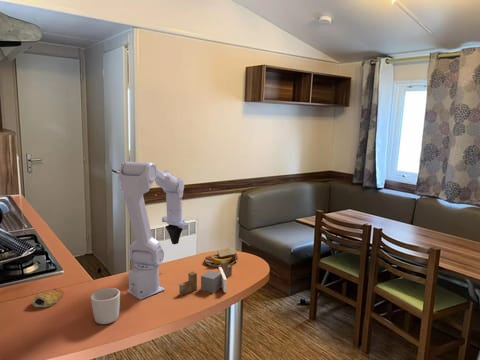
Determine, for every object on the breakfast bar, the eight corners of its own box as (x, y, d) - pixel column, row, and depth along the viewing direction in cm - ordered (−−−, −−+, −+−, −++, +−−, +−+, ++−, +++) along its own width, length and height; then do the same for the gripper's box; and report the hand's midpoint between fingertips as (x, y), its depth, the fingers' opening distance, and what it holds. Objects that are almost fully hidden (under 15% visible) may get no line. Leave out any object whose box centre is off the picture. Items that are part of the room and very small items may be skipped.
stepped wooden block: (182, 295, 121) (182, 278, 120) (178, 293, 123) (178, 276, 122) (232, 275, 137) (232, 260, 136) (228, 273, 138) (228, 258, 137)
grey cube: (213, 293, 124) (213, 279, 123) (201, 289, 126) (200, 275, 125) (221, 287, 128) (221, 273, 127) (209, 283, 130) (209, 270, 129)
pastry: (51, 293, 123) (50, 282, 123) (69, 295, 122) (68, 284, 121) (30, 307, 114) (28, 295, 114) (48, 310, 113) (47, 298, 112)
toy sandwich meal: (204, 256, 155) (204, 246, 154) (236, 256, 156) (236, 245, 155) (204, 269, 143) (204, 257, 142) (239, 268, 144) (239, 256, 143)
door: (226, 292, 123) (226, 278, 123) (223, 292, 123) (223, 278, 122) (221, 277, 134) (221, 264, 134) (218, 277, 134) (218, 264, 133)
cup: (83, 315, 109) (81, 290, 108) (109, 306, 115) (108, 281, 113) (99, 330, 102) (97, 303, 100) (126, 319, 107) (125, 294, 106)
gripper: (194, 211, 138) (195, 245, 140) (172, 204, 148) (173, 236, 151) (178, 214, 133) (179, 250, 135) (156, 207, 143) (157, 240, 146)
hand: (175, 243), depth 143 cm, fingers closed
